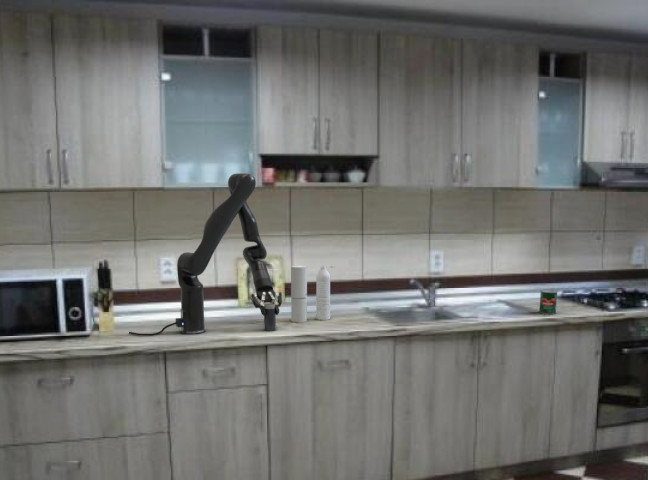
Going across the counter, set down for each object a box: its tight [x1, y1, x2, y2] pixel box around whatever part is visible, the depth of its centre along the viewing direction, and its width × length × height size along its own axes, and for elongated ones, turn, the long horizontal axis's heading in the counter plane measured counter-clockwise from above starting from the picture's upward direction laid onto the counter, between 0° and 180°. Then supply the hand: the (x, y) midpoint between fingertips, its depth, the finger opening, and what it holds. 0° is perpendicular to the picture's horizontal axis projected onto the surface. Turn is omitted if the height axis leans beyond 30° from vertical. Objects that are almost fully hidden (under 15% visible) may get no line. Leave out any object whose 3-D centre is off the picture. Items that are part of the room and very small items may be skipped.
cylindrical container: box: [290, 265, 308, 323], centre depth 282 cm, size 7×7×25 cm
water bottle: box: [315, 264, 335, 321], centre depth 287 cm, size 9×6×25 cm
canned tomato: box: [538, 289, 558, 315], centre depth 306 cm, size 8×8×11 cm
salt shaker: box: [263, 303, 277, 332], centre depth 264 cm, size 5×5×11 cm
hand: (271, 314), depth 262 cm, fingers closed on salt shaker, 5 cm apart
